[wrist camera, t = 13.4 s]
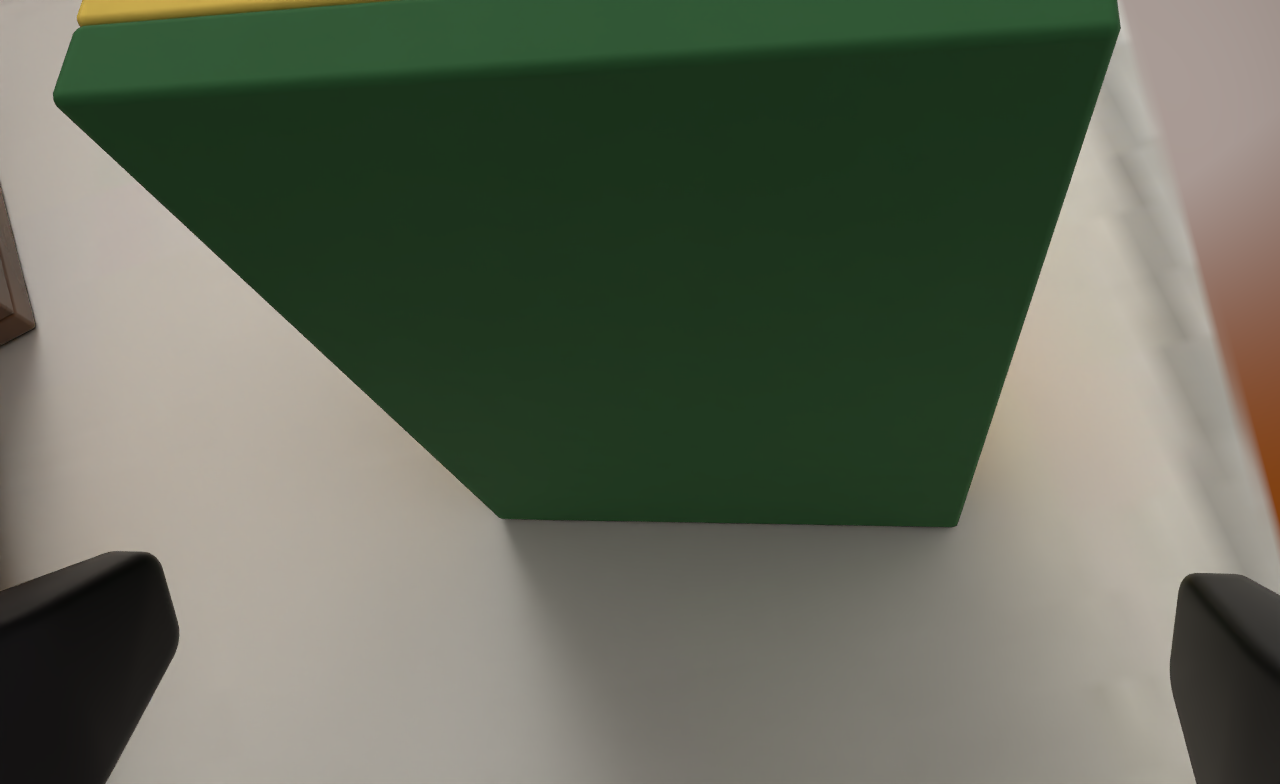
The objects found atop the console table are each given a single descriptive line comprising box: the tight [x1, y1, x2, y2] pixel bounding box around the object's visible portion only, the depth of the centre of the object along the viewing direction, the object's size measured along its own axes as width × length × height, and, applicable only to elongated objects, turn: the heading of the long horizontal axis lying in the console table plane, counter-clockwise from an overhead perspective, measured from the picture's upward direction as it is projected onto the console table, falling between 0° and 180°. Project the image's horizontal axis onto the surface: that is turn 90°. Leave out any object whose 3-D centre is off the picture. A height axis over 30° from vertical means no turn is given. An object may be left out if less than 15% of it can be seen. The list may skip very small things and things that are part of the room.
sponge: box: [53, 0, 1121, 527], centre depth 12 cm, size 4×7×10 cm, turn 86°
